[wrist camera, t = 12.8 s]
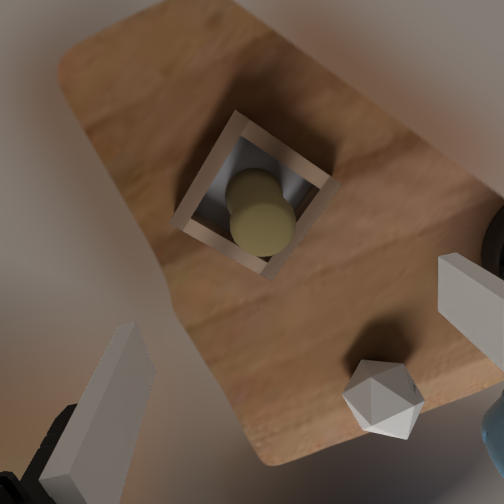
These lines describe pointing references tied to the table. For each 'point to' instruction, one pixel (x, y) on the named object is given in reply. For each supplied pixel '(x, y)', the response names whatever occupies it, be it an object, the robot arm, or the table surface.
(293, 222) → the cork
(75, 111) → the table surface
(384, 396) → the die
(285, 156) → the wooden tray
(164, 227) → the table surface
